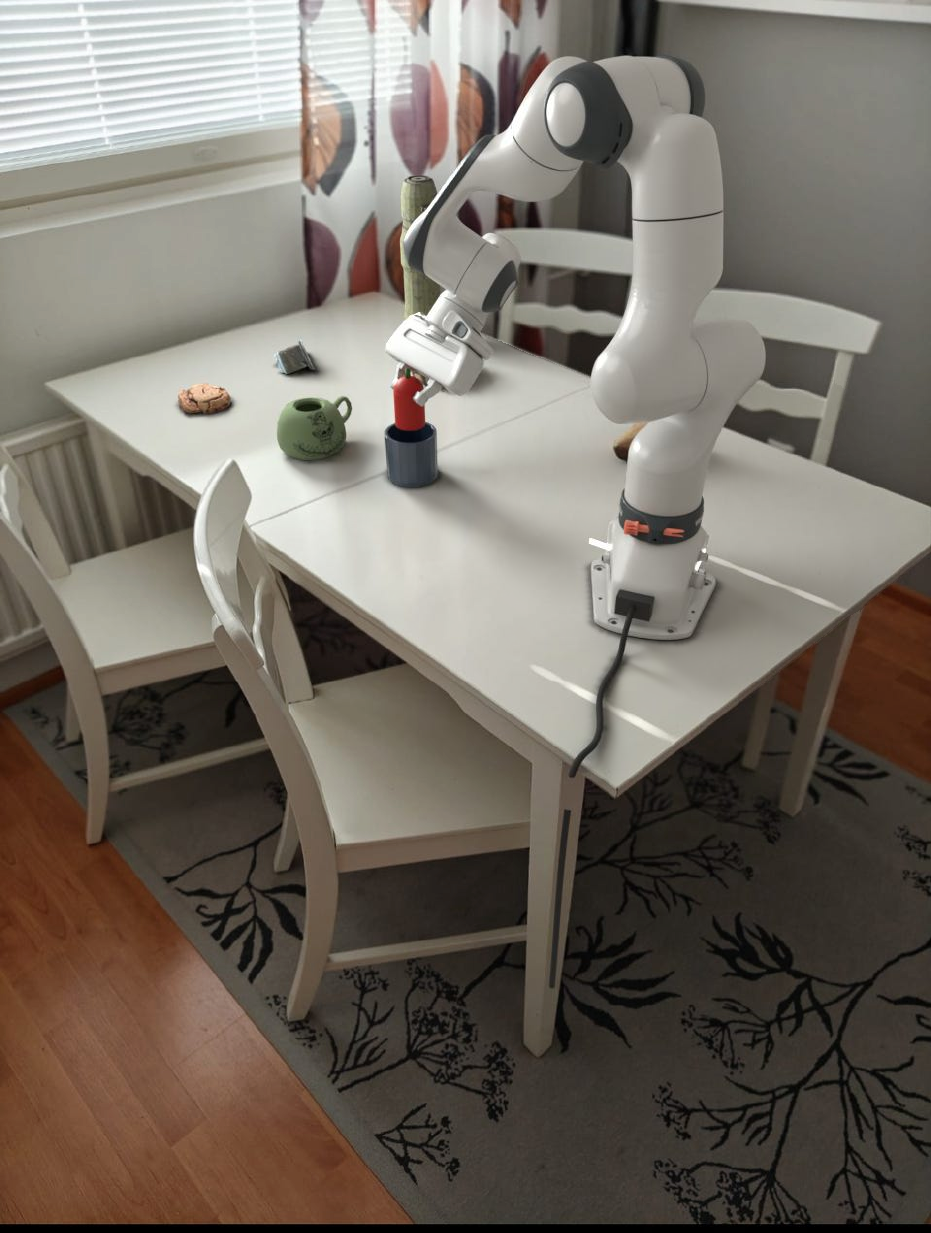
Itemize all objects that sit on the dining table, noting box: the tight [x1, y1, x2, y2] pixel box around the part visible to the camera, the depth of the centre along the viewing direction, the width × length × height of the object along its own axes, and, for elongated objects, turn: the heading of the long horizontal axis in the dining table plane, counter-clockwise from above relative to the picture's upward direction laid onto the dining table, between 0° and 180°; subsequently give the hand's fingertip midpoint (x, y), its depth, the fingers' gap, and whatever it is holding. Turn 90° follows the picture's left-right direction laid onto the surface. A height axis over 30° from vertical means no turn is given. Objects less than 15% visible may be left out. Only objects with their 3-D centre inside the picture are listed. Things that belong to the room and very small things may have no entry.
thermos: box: [399, 174, 441, 322], centre depth 215 cm, size 9×12×35 cm
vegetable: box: [612, 423, 648, 461], centre depth 180 cm, size 16×11×10 cm
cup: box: [384, 421, 439, 488], centre depth 175 cm, size 9×9×8 cm
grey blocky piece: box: [274, 337, 316, 375], centre depth 214 cm, size 10×7×12 cm
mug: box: [276, 395, 353, 461], centre depth 184 cm, size 16×13×9 cm
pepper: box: [392, 367, 426, 431], centre depth 168 cm, size 5×5×10 cm
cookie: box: [177, 382, 232, 414], centre depth 200 cm, size 10×11×3 cm
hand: (406, 397), depth 168 cm, fingers closed on pepper, 5 cm apart
